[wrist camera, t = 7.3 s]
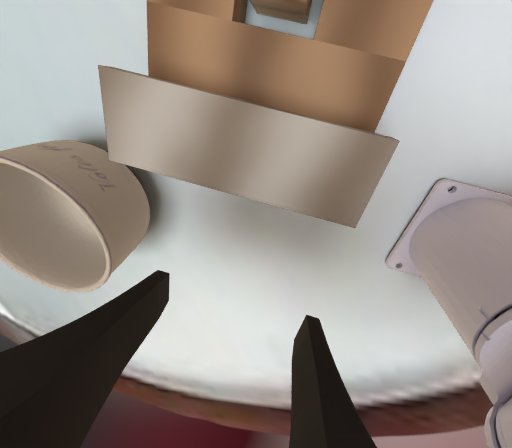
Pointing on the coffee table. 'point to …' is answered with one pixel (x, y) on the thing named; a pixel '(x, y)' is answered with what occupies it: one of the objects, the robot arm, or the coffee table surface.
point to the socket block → (265, 102)
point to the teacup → (68, 213)
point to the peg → (284, 9)
